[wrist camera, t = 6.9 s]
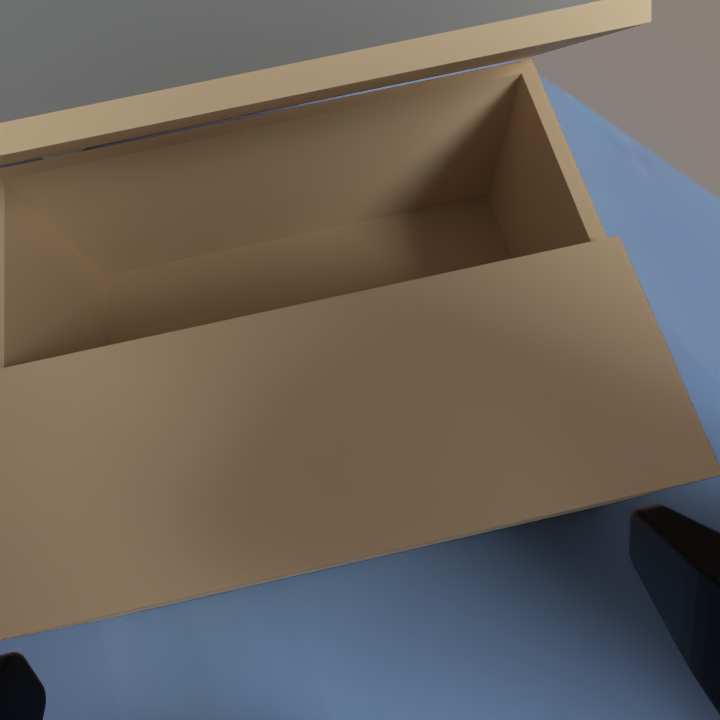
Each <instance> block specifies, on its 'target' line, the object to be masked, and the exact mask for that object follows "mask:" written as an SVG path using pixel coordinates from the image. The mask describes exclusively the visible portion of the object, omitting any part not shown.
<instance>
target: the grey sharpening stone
mask: <svg viewBox="0 0 720 720" xmlns="http://www.w3.org/2000/svg"><path fill="white" fill-rule="evenodd" d="M649 22H651V0H601V1H597V2H592V3H591V0H0V166H1V165H6V164H11V163H16V162H21V161H26V160H30V159H35V158H40V157H45V156H50V155H55V154H60V153H64V152H69V151H74V150H79V149H84V148H89V147H94V146H99V145H103V144H108V143H113V142H118V141H123V140H128V139H133V138H137V137H142V136H147V135H152V134H157V133H162V132H167V131H171V130H176V129H181V128H186V127H191V126H196V125H201V124H206V123H210V122H215V121H220V120H225V119H230V118H235V117H240V116H244V115H249V114H254V113H259V112H264V111H269V110H274V109H278V108H283V107H288V106H293V105H298V104H303V103H308V102H313V101H317V100H322V99H327V98H332V97H337V96H342V95H347V94H351V93H356V92H361V91H366V90H371V89H376V88H381V87H385V86H390V85H395V84H400V83H405V82H410V81H415V80H419V79H424V78H429V77H434V76H439V75H444V74H449V73H454V72H458V71H463V70H468V69H473V68H478V67H483V66H488V65H492V64H497V63H502V62H507V61H512V60H517V59H521V58H526V57H531V56H535V55H539V54H542V53H545V52H549V51H552V50H556V49H559V48H562V47H566V46H570V45H573V44H577V43H580V42H584V41H587V40H590V39H594V38H597V37H601V36H604V35H608V34H611V33H615V32H618V31H621V30H625V29H628V28H632V27H635V26H638V25H642V24H646V23H649Z"/></svg>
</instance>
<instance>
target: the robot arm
mask: <svg viewBox="0 0 720 720" xmlns="http://www.w3.org/2000/svg"><path fill="white" fill-rule="evenodd" d="M629 553H630V558H631V562H632V564H633V566H634V569H635V570H636V572H637V574H638V576H639V578H640V580H641V582H642V583H643V585H644V587H645V589H646V591H647V593H648V594H649V596H650V598H651V600H652V602H653V604H654V606H655V607H656V609H657V611H658V613H659V615H660V617H661V618H662V620H663V622H664V624H665V626H666V628H667V630H668V631H669V633H670V635H671V637H672V639H673V641H674V642H675V644H676V646H677V648H678V650H679V652H680V653H681V655H682V657H683V659H684V660H685V662H686V664H687V666H688V667H689V669H690V671H691V672H692V674H693V675H694V677H695V678H696V680H697V681H698V683H699V685H700V686H701V688H702V689H703V691H704V692H705V694H706V695H707V696H708V698H709V699H710V701H711V702H712V704H713V705H714V707H715V708H716V710H717V711H718V713H719V714H720V532H718V531H716V530H714V529H711V528H709V527H707V526H705V525H703V524H701V523H699V522H697V521H695V520H693V519H691V518H689V517H687V516H685V515H683V514H681V513H679V512H676V511H674V510H672V509H670V508H668V507H666V506H663V505H660V504H656V505H651V506H647V507H642V508H638V509H635V510H633V511H632V513H631V516H630V537H629ZM45 704H46V694H45V690H44V687H43V685H42V683H41V682H40V680H39V678H38V677H37V675H36V674H35V672H34V671H33V669H32V668H31V666H30V665H29V663H28V662H27V660H26V659H25V657H24V656H23V655H22V654H20V653H18V652H11V653H7V654H3V655H0V720H43V716H44V710H45Z"/></svg>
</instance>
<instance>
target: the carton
mask: <svg viewBox="0 0 720 720" xmlns="http://www.w3.org/2000/svg"><path fill="white" fill-rule="evenodd" d="M716 476H720V467H719V464H718V462H717V460H716V457H715V455H714V453H713V450H712V448H711V446H710V444H709V441H708V439H707V437H706V434H705V432H704V430H703V427H702V425H701V423H700V420H699V418H698V416H697V414H696V411H695V409H694V407H693V404H692V402H691V400H690V397H689V395H688V393H687V390H686V388H685V386H684V383H683V381H682V379H681V377H680V374H679V372H678V370H677V367H676V365H675V363H674V360H673V358H672V356H671V353H670V351H669V349H668V347H667V344H666V342H665V340H664V337H663V335H662V333H661V330H660V328H659V326H658V323H657V321H656V319H655V317H654V314H653V312H652V310H651V307H650V305H649V303H648V300H647V298H646V296H645V293H644V291H643V289H642V287H641V284H640V282H639V280H638V277H637V275H636V273H635V270H634V268H633V266H632V263H631V261H630V259H629V256H628V254H627V252H626V250H625V247H624V245H623V243H622V240H621V238H620V236H615V237H610V238H607V235H606V233H605V231H604V228H603V226H602V224H601V221H600V219H599V217H598V214H597V212H596V209H595V207H594V205H593V202H592V200H591V198H590V195H589V193H588V191H587V188H586V186H585V184H584V181H583V179H582V176H581V174H580V172H579V169H578V167H577V165H576V162H575V160H574V158H573V155H572V153H571V151H570V148H569V146H568V143H567V141H566V139H565V136H564V134H563V132H562V129H561V127H560V125H559V122H558V120H557V117H556V115H555V113H554V110H553V108H552V106H551V103H550V101H549V99H548V96H547V94H546V92H545V89H544V87H543V84H542V82H541V80H540V77H539V75H538V73H537V70H536V68H535V66H534V63H533V61H532V59H528V60H524V61H519V62H514V63H509V64H504V65H499V66H494V67H490V68H485V69H480V70H475V71H470V72H465V73H460V74H456V75H451V76H446V77H441V78H436V79H431V80H426V81H422V82H417V83H412V84H407V85H402V86H397V87H392V88H387V89H383V90H378V91H373V92H368V93H363V94H358V95H353V96H349V97H344V98H339V99H334V100H329V101H324V102H319V103H315V104H310V105H305V106H300V107H295V108H290V109H285V110H281V111H276V112H271V113H266V114H261V115H256V116H251V117H247V118H242V119H237V120H232V121H227V122H222V123H217V124H213V125H208V126H203V127H198V128H193V129H188V130H183V131H178V132H174V133H169V134H164V135H159V136H154V137H149V138H144V139H140V140H135V141H130V142H125V143H120V144H115V145H110V146H106V147H101V148H96V149H91V150H86V151H81V152H76V153H72V154H67V155H62V156H57V157H52V158H47V159H42V160H38V161H33V162H28V163H23V164H18V165H13V166H8V167H4V168H0V640H4V639H9V638H14V637H19V636H24V635H29V634H34V633H39V632H44V631H49V630H53V629H58V628H63V627H68V626H73V625H78V624H83V623H88V622H93V621H98V620H103V619H108V618H113V617H117V616H122V615H126V614H130V613H135V612H139V611H144V610H148V609H152V608H157V607H161V606H166V605H170V604H174V603H179V602H183V601H187V600H192V599H196V598H201V597H205V596H209V595H214V594H218V593H223V592H227V591H231V590H236V589H240V588H244V587H249V586H253V585H258V584H262V583H266V582H271V581H275V580H280V579H284V578H288V577H293V576H297V575H301V574H306V573H310V572H315V571H319V570H323V569H328V568H332V567H337V566H341V565H345V564H350V563H354V562H359V561H363V560H367V559H372V558H376V557H380V556H385V555H389V554H394V553H398V552H402V551H407V550H411V549H416V548H420V547H424V546H429V545H433V544H437V543H442V542H446V541H451V540H455V539H459V538H464V537H468V536H473V535H477V534H481V533H486V532H490V531H494V530H499V529H503V528H508V527H512V526H516V525H521V524H525V523H530V522H534V521H538V520H543V519H547V518H551V517H556V516H560V515H565V514H569V513H573V512H578V511H582V510H587V509H591V508H595V507H600V506H604V505H608V504H612V503H616V502H620V501H624V500H628V499H631V498H635V497H639V496H643V495H647V494H651V493H655V492H658V491H662V490H666V489H670V488H674V487H678V486H682V485H685V484H689V483H693V482H697V481H701V480H705V479H709V478H712V477H716Z"/></svg>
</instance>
